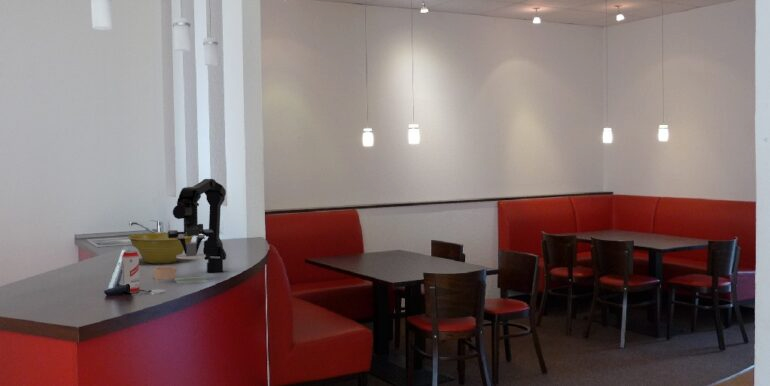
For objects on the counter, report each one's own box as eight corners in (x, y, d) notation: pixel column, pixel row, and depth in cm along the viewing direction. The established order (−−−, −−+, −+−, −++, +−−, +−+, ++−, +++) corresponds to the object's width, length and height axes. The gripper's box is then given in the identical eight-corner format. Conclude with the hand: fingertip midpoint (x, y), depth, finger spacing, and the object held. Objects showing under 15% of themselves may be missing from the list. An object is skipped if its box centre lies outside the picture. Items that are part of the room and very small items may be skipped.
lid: (203, 254, 317) (203, 241, 316) (207, 258, 306) (207, 244, 305) (175, 256, 312) (174, 242, 312) (177, 259, 301) (177, 245, 301)
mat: (204, 278, 318) (204, 276, 318) (209, 282, 306) (209, 281, 306) (174, 279, 313) (174, 278, 313) (177, 284, 301) (177, 283, 301)
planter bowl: (207, 260, 374) (207, 234, 374) (157, 268, 347) (157, 240, 346) (165, 256, 391) (164, 231, 391) (114, 263, 364) (114, 236, 364)
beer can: (142, 291, 286) (142, 251, 285) (132, 294, 280) (131, 252, 279) (129, 290, 288) (129, 250, 287) (119, 293, 282) (118, 252, 281)
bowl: (174, 276, 322) (174, 266, 322) (176, 279, 313) (176, 269, 313) (153, 277, 319) (153, 267, 318) (154, 281, 310) (154, 270, 310)
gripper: (169, 219, 297) (169, 257, 298) (215, 217, 304) (216, 255, 305) (167, 217, 308) (167, 253, 308) (211, 216, 314) (212, 251, 315)
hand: (191, 253), depth 309 cm, fingers closed on lid, 4 cm apart
